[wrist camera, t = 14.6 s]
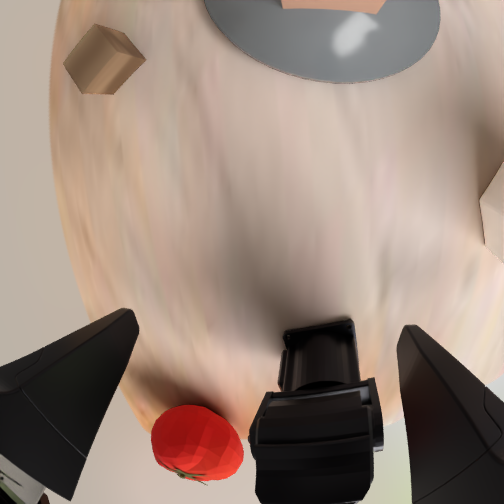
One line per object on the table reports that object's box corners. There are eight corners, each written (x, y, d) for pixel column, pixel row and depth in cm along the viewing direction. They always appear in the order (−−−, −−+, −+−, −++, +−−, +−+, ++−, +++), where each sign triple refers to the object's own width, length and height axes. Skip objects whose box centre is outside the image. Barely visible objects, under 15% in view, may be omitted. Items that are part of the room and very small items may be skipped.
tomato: (150, 387, 34) (119, 446, 24) (230, 390, 30) (206, 466, 21) (191, 434, 39) (172, 485, 29) (261, 438, 35) (248, 498, 26)
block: (146, 60, 16) (117, 52, 13) (114, 94, 18) (82, 93, 14) (124, 33, 15) (94, 23, 12) (94, 66, 17) (62, 63, 13)
